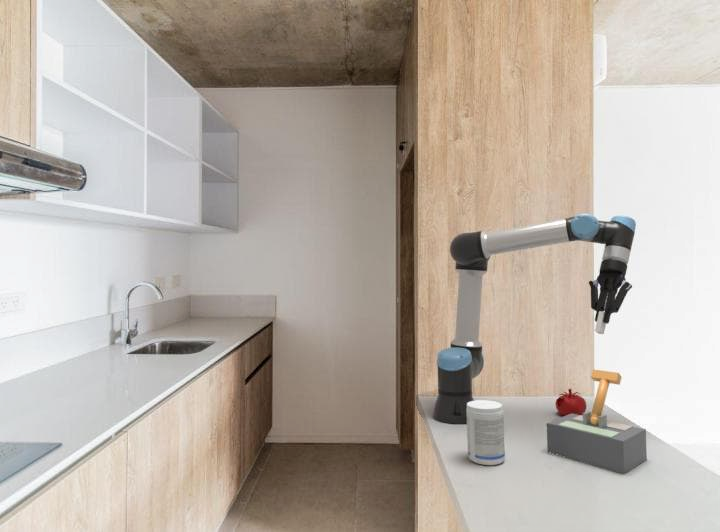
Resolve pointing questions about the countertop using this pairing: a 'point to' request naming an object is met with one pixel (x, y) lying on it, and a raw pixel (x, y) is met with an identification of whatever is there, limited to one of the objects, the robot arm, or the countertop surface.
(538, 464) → the countertop surface
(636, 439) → the box
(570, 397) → the pomegranate
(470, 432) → the supplement tub
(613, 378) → the lever
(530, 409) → the countertop surface
